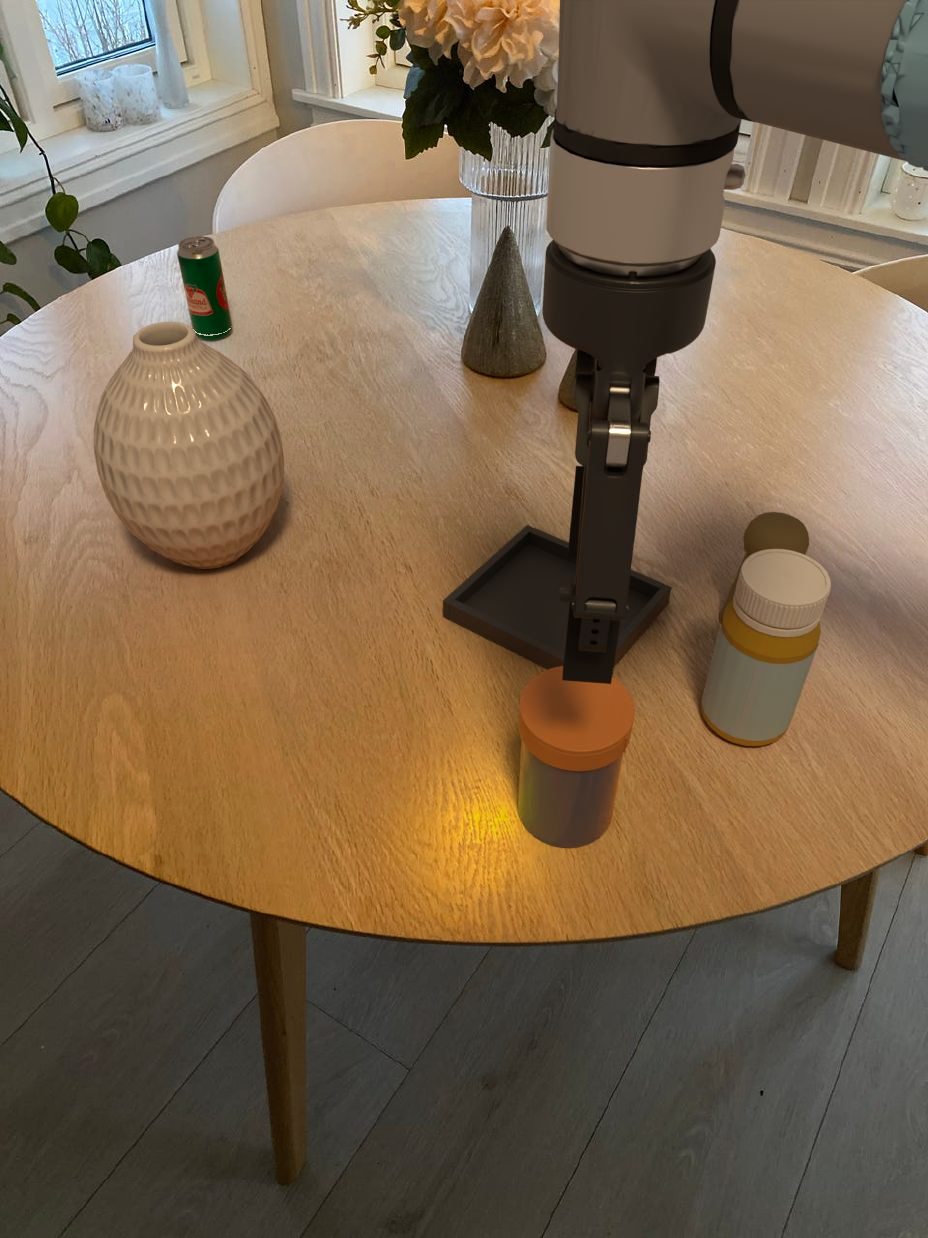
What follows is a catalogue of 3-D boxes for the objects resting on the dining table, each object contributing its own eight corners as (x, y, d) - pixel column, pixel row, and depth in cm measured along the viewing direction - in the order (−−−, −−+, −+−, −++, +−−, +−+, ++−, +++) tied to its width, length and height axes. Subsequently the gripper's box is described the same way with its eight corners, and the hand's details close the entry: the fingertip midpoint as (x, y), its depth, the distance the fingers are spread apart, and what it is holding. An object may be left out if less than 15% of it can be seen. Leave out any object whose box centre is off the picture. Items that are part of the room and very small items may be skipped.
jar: (629, 799, 71) (648, 702, 64) (580, 865, 67) (595, 770, 60) (550, 755, 74) (559, 658, 67) (499, 816, 70) (502, 720, 63)
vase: (91, 577, 90) (15, 361, 75) (188, 483, 101) (139, 278, 86) (240, 620, 86) (192, 400, 70) (325, 518, 97) (299, 308, 81)
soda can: (186, 335, 125) (166, 244, 117) (214, 321, 128) (196, 231, 120) (213, 346, 123) (195, 254, 115) (241, 331, 126) (225, 240, 118)
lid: (652, 718, 65) (656, 697, 64) (595, 791, 61) (598, 771, 59) (556, 670, 68) (558, 649, 67) (496, 736, 64) (497, 715, 63)
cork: (784, 652, 83) (816, 553, 75) (714, 636, 84) (738, 537, 77) (790, 607, 87) (821, 509, 79) (723, 593, 88) (747, 495, 81)
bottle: (782, 761, 74) (833, 619, 64) (692, 737, 76) (727, 595, 66) (792, 698, 79) (841, 557, 69) (707, 677, 81) (742, 536, 70)
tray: (669, 603, 87) (672, 586, 86) (593, 692, 79) (595, 676, 78) (526, 540, 94) (527, 524, 93) (442, 616, 86) (442, 600, 85)
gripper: (745, 373, 34) (658, 767, 49) (699, 159, 50) (645, 503, 65) (532, 362, 34) (512, 755, 49) (555, 154, 51) (535, 497, 66)
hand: (587, 612), depth 57 cm, fingers open, 10 cm apart
